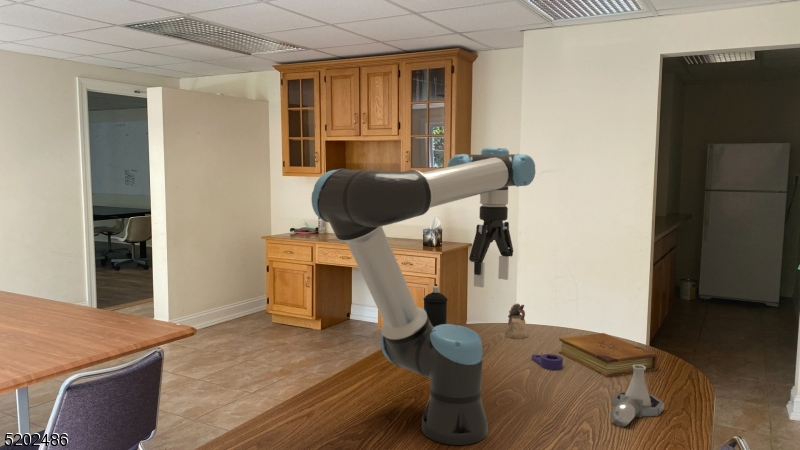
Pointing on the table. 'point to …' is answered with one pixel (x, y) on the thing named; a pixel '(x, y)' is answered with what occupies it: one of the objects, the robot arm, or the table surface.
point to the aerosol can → (436, 307)
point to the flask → (639, 386)
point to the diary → (607, 354)
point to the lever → (549, 361)
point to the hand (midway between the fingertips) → (491, 282)
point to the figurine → (516, 323)
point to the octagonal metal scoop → (633, 408)
